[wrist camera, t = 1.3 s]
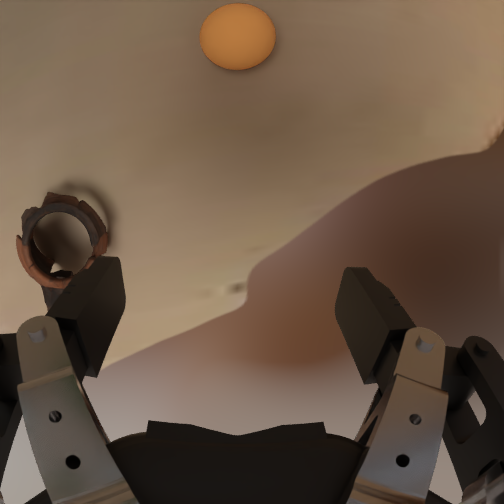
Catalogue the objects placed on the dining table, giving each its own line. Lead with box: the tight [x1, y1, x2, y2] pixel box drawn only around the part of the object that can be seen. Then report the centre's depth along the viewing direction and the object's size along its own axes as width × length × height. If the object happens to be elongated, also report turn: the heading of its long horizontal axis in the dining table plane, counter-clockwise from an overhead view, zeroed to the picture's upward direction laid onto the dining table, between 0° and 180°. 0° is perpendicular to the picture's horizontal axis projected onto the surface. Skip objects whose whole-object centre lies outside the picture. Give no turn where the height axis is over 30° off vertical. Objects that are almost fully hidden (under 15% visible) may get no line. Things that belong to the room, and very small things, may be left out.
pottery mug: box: [16, 192, 108, 311], centre depth 25 cm, size 12×10×8 cm
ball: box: [200, 3, 276, 70], centre depth 18 cm, size 6×6×6 cm
